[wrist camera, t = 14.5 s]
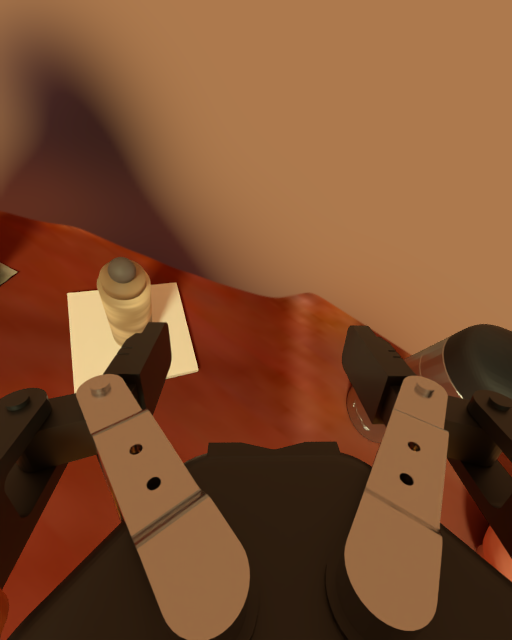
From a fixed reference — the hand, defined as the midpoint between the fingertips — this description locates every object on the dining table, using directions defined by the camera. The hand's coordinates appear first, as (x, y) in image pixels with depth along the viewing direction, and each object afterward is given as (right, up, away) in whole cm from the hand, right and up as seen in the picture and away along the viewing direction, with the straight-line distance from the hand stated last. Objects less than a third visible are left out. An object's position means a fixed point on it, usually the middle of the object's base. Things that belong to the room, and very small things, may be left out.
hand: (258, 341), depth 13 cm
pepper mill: (-16, -1, +24) cm, 29 cm away
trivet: (-16, -1, +25) cm, 30 cm away
